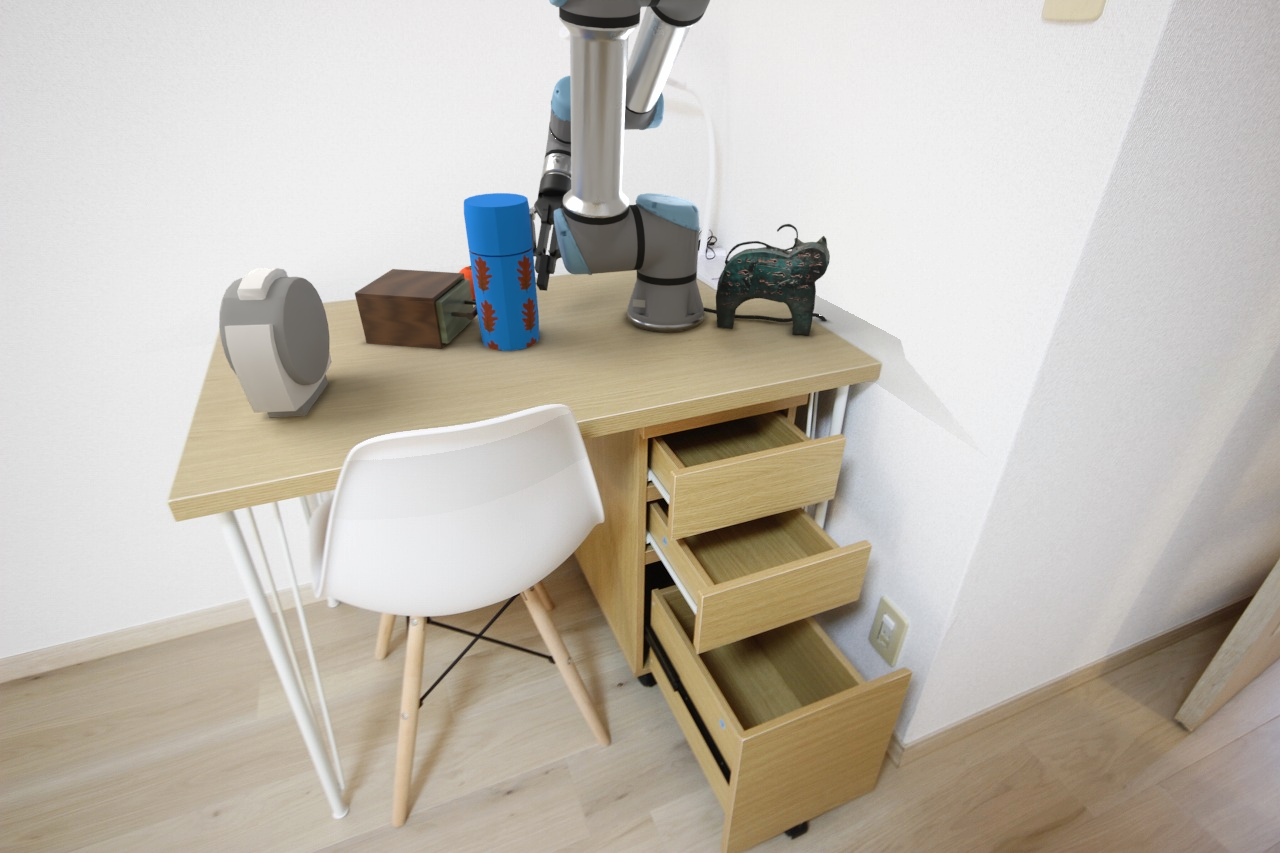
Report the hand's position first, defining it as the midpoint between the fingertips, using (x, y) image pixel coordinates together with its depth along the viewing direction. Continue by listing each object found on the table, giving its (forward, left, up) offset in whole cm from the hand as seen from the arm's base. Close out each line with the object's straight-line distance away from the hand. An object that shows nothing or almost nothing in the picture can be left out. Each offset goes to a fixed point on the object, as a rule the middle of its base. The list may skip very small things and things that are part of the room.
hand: (541, 287), depth 128 cm
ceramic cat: (-44, +8, -6) cm, 45 cm away
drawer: (+19, +10, -5) cm, 21 cm away
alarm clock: (+33, +36, -6) cm, 49 cm away
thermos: (+4, +13, -6) cm, 15 cm away
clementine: (+15, -9, -6) cm, 19 cm away
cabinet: (+22, +9, -6) cm, 25 cm away
